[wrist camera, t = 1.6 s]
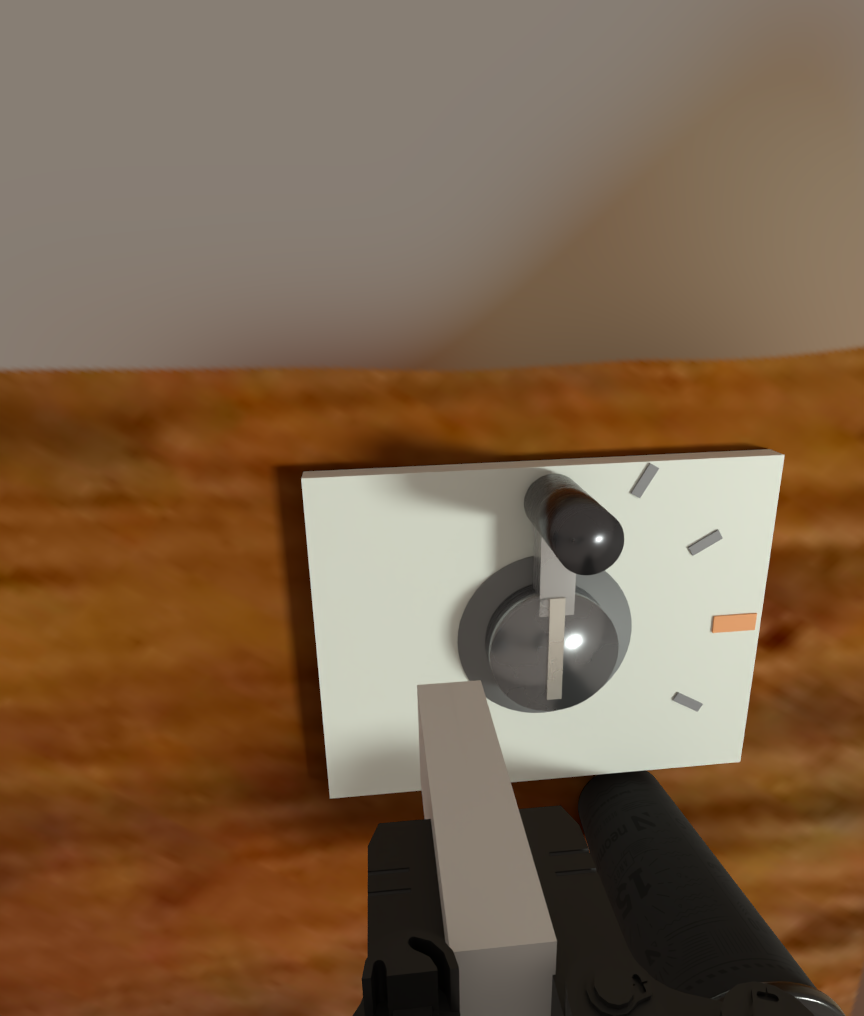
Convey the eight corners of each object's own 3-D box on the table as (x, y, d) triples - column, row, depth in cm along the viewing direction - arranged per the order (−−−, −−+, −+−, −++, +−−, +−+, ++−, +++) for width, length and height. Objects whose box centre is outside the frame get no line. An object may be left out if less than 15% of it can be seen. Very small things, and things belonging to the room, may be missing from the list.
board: (331, 782, 35) (329, 800, 33) (303, 471, 29) (300, 479, 28) (728, 747, 37) (741, 763, 35) (769, 449, 31) (785, 455, 30)
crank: (603, 687, 33) (647, 760, 28) (484, 696, 32) (507, 772, 27) (617, 468, 29) (671, 505, 24) (484, 475, 29) (510, 514, 24)
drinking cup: (708, 762, 37) (1074, 1258, 18) (647, 866, 39) (918, 1412, 20) (588, 728, 35) (848, 1229, 16) (531, 837, 37) (704, 1399, 18)
